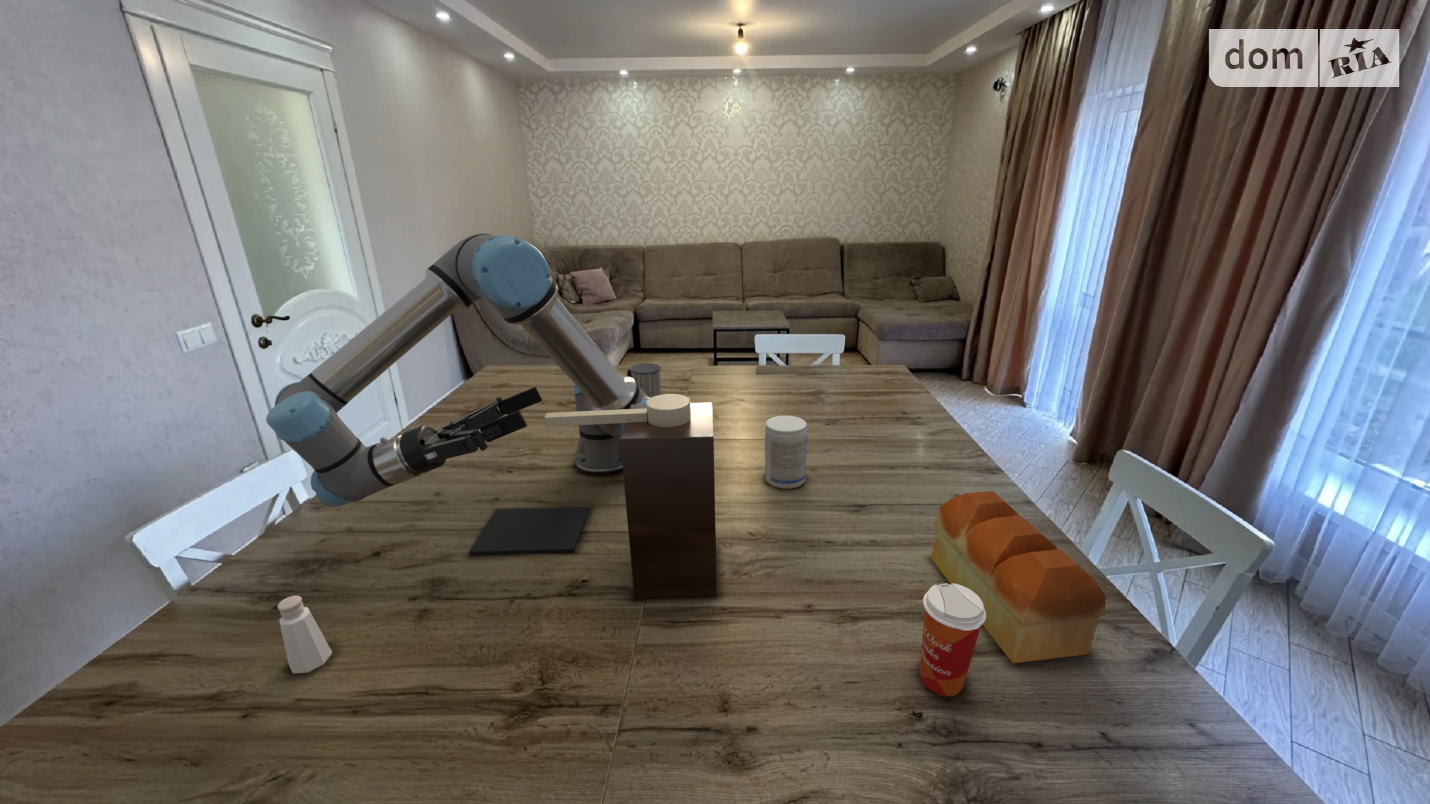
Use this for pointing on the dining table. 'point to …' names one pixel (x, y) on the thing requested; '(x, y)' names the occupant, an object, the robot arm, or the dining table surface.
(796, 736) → the dining table surface
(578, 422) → the scoop
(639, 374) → the milk frother
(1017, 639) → the bread
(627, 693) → the dining table surface
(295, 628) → the pepper shaker
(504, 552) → the mat
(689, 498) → the tall dark wooden box
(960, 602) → the paper cup
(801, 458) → the supplement tub
